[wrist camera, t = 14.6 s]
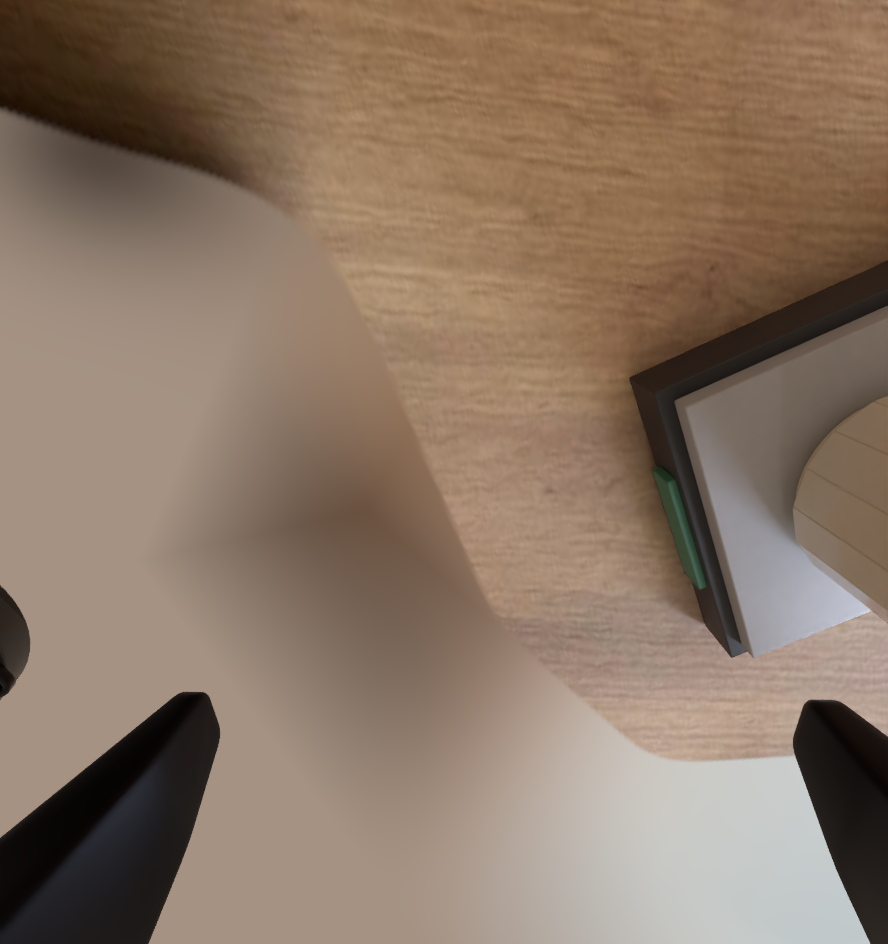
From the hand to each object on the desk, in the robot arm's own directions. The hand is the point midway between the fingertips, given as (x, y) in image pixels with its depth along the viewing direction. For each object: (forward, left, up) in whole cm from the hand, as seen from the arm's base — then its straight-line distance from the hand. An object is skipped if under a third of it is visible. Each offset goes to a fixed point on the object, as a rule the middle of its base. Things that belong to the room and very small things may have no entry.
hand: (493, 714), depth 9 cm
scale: (+13, -7, -12) cm, 19 cm away
